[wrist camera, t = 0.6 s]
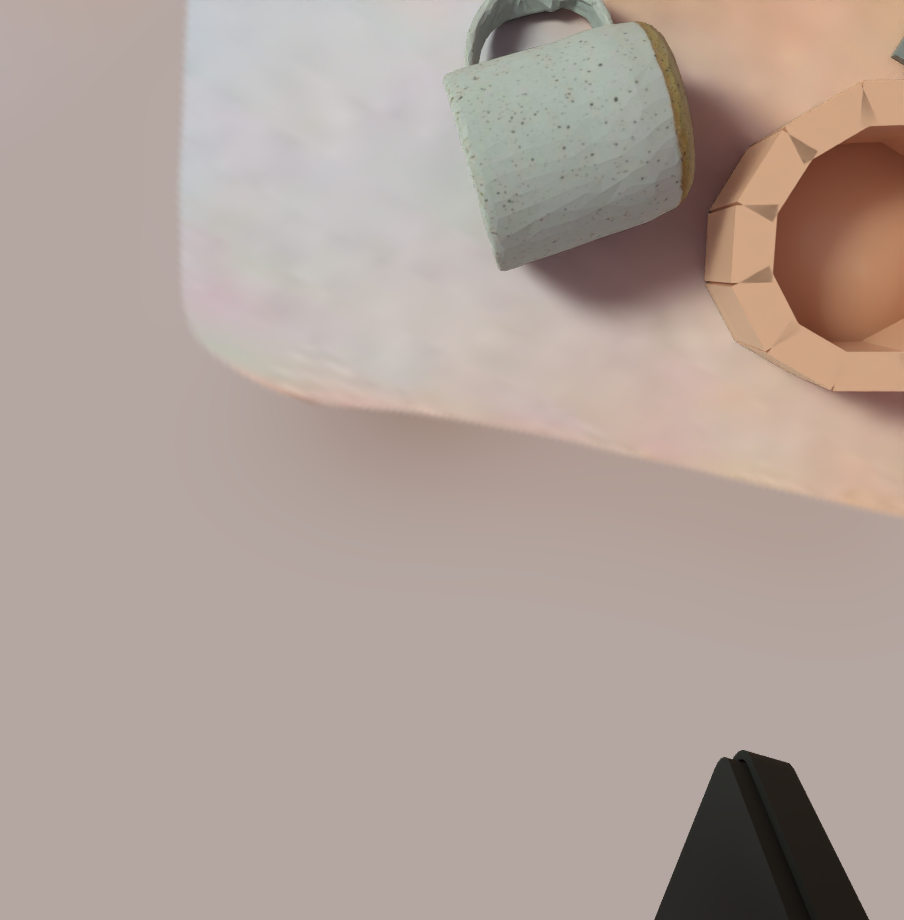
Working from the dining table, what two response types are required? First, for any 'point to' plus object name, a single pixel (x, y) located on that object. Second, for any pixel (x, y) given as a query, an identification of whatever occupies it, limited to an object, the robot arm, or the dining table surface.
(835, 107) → the round wooden tub
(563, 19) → the dining table surface
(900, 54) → the placemat
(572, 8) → the ceramic mug
